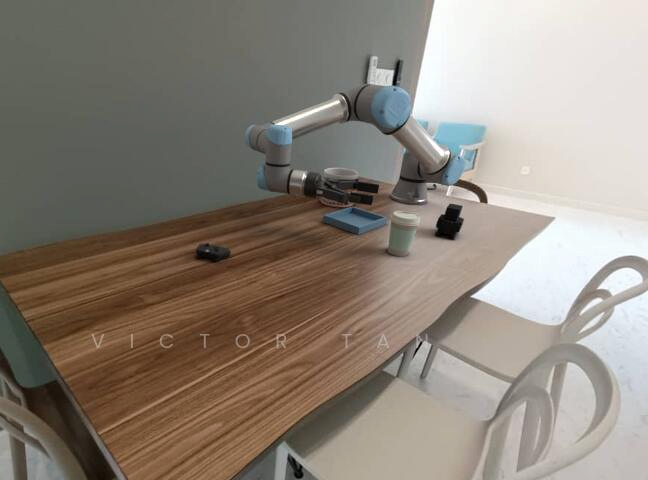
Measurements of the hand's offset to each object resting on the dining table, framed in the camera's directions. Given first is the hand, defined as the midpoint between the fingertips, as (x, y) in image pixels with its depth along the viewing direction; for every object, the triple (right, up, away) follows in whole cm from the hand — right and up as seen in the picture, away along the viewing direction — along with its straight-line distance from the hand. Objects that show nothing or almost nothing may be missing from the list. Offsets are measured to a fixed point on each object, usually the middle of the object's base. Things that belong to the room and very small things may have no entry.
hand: (375, 194), depth 115 cm
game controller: (-48, -19, -4) cm, 51 cm away
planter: (-4, +9, +47) cm, 48 cm away
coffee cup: (+8, -16, +6) cm, 19 cm away
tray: (-1, -3, +27) cm, 27 cm away
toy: (+32, -7, +24) cm, 41 cm away
